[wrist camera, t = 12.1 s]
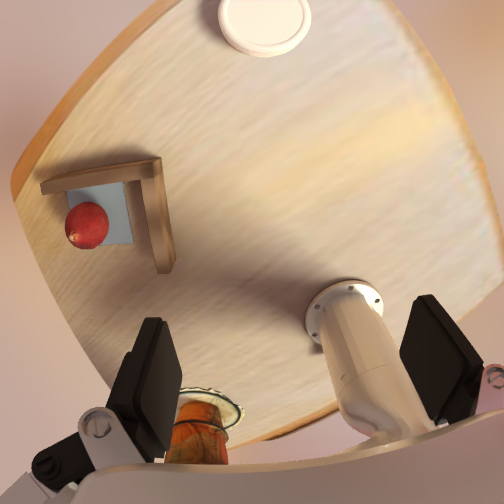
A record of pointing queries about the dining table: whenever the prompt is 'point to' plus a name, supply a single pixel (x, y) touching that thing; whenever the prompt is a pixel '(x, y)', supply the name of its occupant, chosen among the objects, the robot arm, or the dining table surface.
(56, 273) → the dining table surface
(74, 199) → the pad
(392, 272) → the dining table surface
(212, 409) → the decorative vase
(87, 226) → the onion
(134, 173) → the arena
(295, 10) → the coaster
